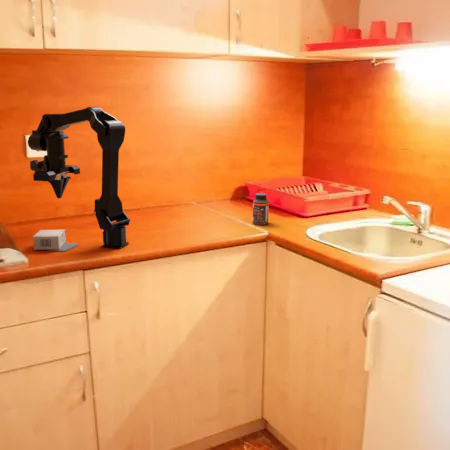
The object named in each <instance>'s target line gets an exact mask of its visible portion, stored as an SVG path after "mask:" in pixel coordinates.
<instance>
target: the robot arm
mask: <svg viewBox="0 0 450 450" xmlns="http://www.w3.org/2000/svg"><path fill="white" fill-rule="evenodd" d="M86 122H89V126H90V128H91V130H93V131H94V132H95V133H96V136H97V137H96V139H97V141H98V144H99V146H100V148H101V150H102V152H101V153H102V154H101V157H102V158H101V159H102V161H101V163H102V164H101V195H100V197H99V198H96V199H95V200H94V202H93V203H94V211H93V212H94V213H95V214H94V215H95V218H96V219H97V223H98V227H99V229H100V230H102V242H103V243H102V244H103V245H101V247H102V248H105V249H106V248H108V249H116V250H117V249H122V248H124V247H126V246H127V245H129V243H130V242H128V241H127V231H126V230H127V227H126V226H129V225H130V223H131V222H130V221H131V219H130V218H129V217H128V215H127V214H126V212H125V211H124V209H123V202H122V200H121V198H120V197H119V193H118V191H119V189H118V188H119V160H120V159H119V157H120V156H119V154H120V149H121V147H122V145H123V143H124V141H125V137H126V136H125V135H126V127H125V125H124V124H123V123H124V122H122V121H121V120H118V119H117V118H116V117H115V116H113V115H111V114H109V113H108V112H106V111H104V109H102V108H101V107H100V106H87V107H85V108H83V109H78V110H74V111H70V112H65V113H64V112H63V113H59V112H58V113H45V114H42V115H41V119H40V122H39V124H38V126H37V128H36V129H35V130H34V129H33V130H31V134H30V135H29V136H28V140H27V146H28V147H29V148H30V150H32V151H38V152H46V154H45V155H44V156H43V160H40V161H38V160H37V159H35V160H33V159H32V160H31V161H29V167H30V170H31V171H32V172H33V171H34V173H33V174H32V179H33V181H34V182H35V181H36V182H48V183H49V184H50V185H51V188H52V189H53V192H54V194H55V197H56V198H57V199H61V198H62V197H63V195H64V192H65V189H66V187H67V185H68V183H69V181H70V179H71V178H72V176H68V174H74V175H79V174H81V169H80V167H79V166H78V165H72V164H66V159H67V158H69V155H68V154H66V152H65V151H66V149H65V139H69V136H68V134H66V133H65V132H64V130H67V129H68V128H70V127H71V126H72V125H73V126H74V125H77V124H81V123H86Z"/></svg>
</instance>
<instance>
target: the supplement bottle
mask: <svg viewBox="0 0 450 450" xmlns="http://www.w3.org/2000/svg"><path fill="white" fill-rule="evenodd" d="M269 206H270V205H269V200H268V198H267V193H264V192H263V193H261V192H260V193H259V192H258V193H255V199H253V201H252V224H254V225H258V226H264V225H267V224H268V223H269V210H270V209H269Z"/></svg>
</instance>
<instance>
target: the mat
mask: <svg viewBox="0 0 450 450" xmlns="http://www.w3.org/2000/svg"><path fill="white" fill-rule="evenodd" d="M79 245H80V244H79V243H74V242H73V243H72V242H65V243H64V244H63V245H62V247H61V248H60V249H52V250H49V251H52V252H59V253H60V252H61V253H65V252H68V251H70V250H73V249H74V248H76V247H78V246H79Z"/></svg>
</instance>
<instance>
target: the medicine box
mask: <svg viewBox="0 0 450 450" xmlns="http://www.w3.org/2000/svg"><path fill="white" fill-rule="evenodd" d="M32 240H33V249H34V250H35V251H36V250H42V251H50V250H52V249H60V248H61V247H62V245H63V244H64V243H66V229H39V231H37V232H36V233H35V234H34V235H33V236H32Z"/></svg>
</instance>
